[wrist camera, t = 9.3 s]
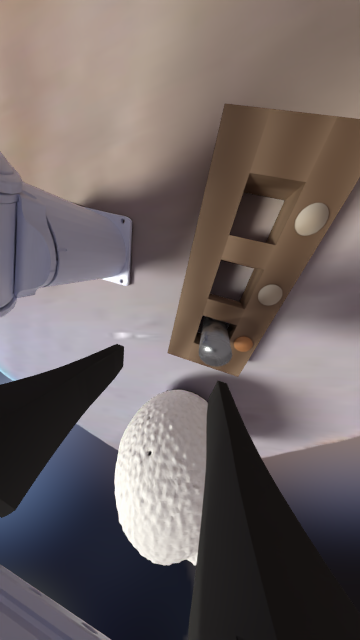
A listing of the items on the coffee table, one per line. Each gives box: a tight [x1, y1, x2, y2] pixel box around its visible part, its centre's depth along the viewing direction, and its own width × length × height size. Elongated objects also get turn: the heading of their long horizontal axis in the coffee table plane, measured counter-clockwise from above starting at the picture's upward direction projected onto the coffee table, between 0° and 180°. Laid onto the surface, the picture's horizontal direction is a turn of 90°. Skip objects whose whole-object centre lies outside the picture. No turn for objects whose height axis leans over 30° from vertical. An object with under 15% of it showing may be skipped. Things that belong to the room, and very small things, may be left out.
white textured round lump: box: [115, 390, 208, 565], centre depth 19 cm, size 20×18×16 cm
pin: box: [199, 316, 232, 367], centre depth 15 cm, size 3×3×7 cm
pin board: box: [168, 104, 360, 377], centre depth 14 cm, size 10×22×3 cm, turn 167°
